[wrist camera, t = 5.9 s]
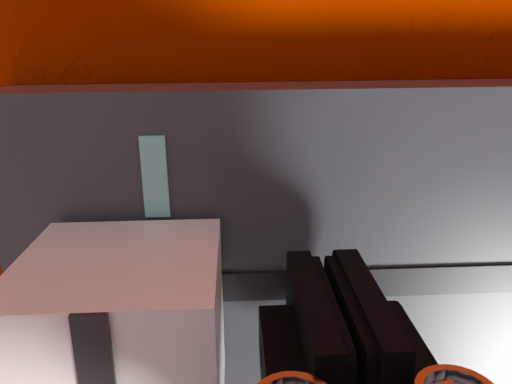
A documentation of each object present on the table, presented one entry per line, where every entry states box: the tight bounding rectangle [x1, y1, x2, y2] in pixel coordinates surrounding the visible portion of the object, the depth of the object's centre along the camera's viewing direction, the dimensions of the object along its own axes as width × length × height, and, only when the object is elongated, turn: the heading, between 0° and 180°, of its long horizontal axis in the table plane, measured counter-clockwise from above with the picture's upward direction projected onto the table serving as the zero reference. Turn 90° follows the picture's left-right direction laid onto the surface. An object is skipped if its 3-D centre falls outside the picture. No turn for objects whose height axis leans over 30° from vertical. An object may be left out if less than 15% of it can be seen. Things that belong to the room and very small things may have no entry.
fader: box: [0, 219, 225, 384], centre depth 10 cm, size 4×4×4 cm
